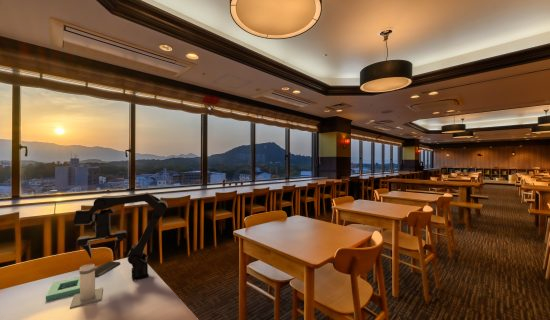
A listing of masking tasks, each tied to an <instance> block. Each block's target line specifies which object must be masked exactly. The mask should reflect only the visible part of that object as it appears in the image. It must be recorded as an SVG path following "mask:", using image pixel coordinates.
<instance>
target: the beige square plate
mask: <svg viewBox="0 0 550 320" xmlns="http://www.w3.org/2000/svg"><path fill="white" fill-rule="evenodd" d="M103 291H104V287H100V288H95V296H94V297H92V298H90V299H88V300H80V293H76V294H73V296H72V300H71V302H70V306H69V309H74V308H78V307H81V306H85V305H88V304H92V303H96V302H99V301H102V300H103V299H102V297H103Z"/></svg>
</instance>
